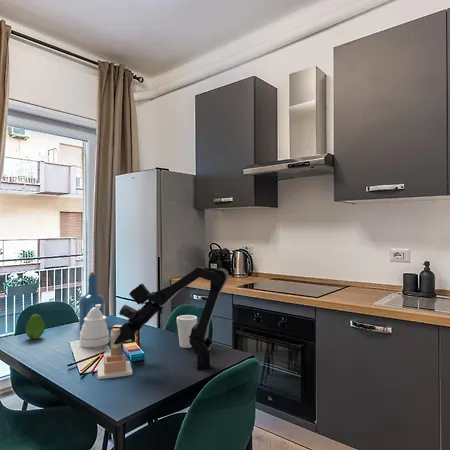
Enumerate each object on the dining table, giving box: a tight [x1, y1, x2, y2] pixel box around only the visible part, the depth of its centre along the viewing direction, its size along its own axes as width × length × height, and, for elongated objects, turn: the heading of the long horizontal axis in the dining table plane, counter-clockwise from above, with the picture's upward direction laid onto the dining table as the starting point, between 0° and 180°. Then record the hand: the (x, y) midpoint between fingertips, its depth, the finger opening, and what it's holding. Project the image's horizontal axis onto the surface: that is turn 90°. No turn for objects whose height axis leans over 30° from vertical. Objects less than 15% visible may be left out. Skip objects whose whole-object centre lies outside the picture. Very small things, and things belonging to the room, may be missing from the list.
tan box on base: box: [97, 354, 133, 380], centre depth 137 cm, size 12×12×4 cm
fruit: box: [25, 313, 46, 340], centre depth 176 cm, size 8×8×12 cm
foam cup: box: [176, 314, 198, 349], centre depth 167 cm, size 10×9×13 cm
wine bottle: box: [78, 271, 106, 329], centre depth 197 cm, size 14×13×30 cm
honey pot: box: [79, 304, 110, 348], centre depth 170 cm, size 13×13×18 cm
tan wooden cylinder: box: [110, 328, 122, 356], centre depth 146 cm, size 4×4×13 cm
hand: (118, 340), depth 146 cm, fingers open, 9 cm apart
